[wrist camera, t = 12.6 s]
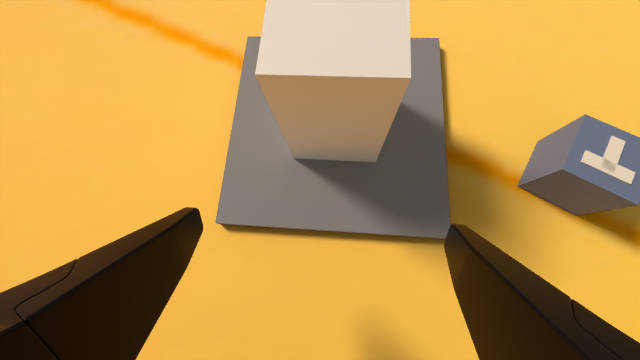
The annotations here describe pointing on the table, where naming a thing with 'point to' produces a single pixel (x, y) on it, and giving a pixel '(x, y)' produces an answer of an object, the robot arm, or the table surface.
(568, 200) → the letter cube
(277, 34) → the white tall block
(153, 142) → the table surface
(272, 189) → the mat
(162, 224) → the robot arm
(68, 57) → the table surface
